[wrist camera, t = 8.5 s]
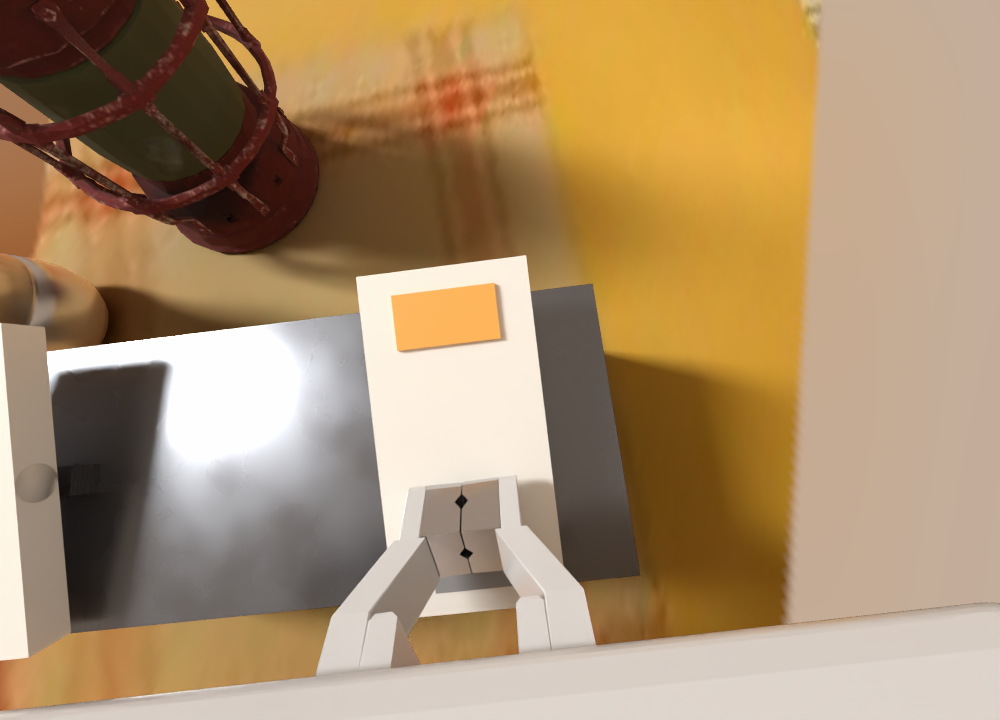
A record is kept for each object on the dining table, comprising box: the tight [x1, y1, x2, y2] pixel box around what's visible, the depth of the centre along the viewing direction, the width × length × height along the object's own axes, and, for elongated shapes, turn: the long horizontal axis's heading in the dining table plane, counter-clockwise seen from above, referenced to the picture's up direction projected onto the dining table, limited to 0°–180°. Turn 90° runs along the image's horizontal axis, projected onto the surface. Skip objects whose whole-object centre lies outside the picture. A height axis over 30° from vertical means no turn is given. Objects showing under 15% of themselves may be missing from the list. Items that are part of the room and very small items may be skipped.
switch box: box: [47, 284, 640, 633], centre depth 20 cm, size 10×26×11 cm, turn 96°
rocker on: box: [356, 255, 563, 617], centre depth 13 cm, size 10×5×1 cm, turn 6°
